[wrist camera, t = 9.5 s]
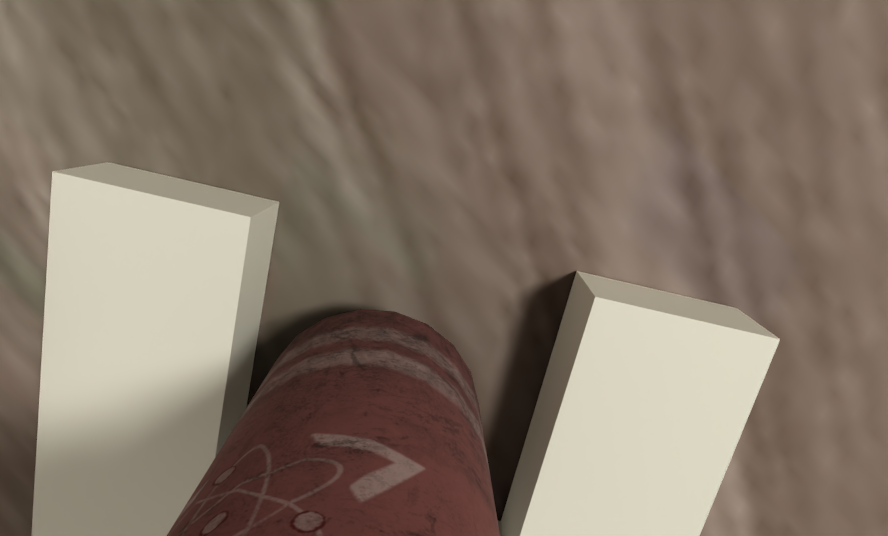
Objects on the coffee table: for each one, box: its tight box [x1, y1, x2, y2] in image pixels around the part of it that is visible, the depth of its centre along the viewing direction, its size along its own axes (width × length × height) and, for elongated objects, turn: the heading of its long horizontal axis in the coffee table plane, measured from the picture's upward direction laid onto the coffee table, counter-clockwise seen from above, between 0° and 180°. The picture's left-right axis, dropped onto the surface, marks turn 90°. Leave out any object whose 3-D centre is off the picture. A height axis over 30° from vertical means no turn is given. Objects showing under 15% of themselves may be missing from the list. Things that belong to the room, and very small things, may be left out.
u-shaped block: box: [32, 162, 780, 536], centre depth 18 cm, size 15×19×2 cm
